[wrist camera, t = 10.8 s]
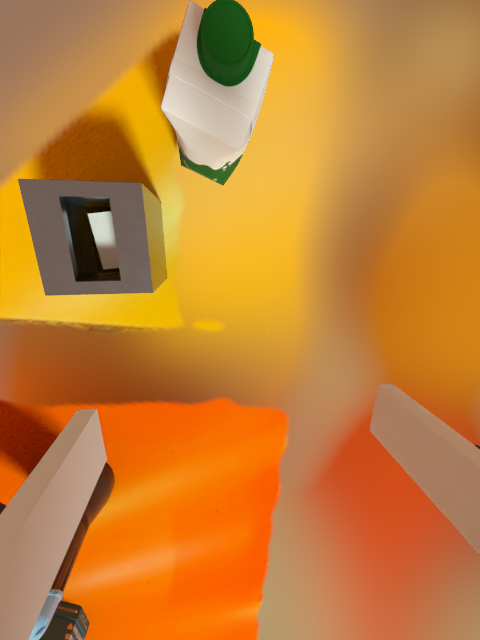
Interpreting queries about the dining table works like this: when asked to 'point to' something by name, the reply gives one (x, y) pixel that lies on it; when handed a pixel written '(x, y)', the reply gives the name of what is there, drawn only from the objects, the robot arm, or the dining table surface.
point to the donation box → (67, 623)
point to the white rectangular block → (104, 238)
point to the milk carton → (215, 87)
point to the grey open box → (76, 242)
